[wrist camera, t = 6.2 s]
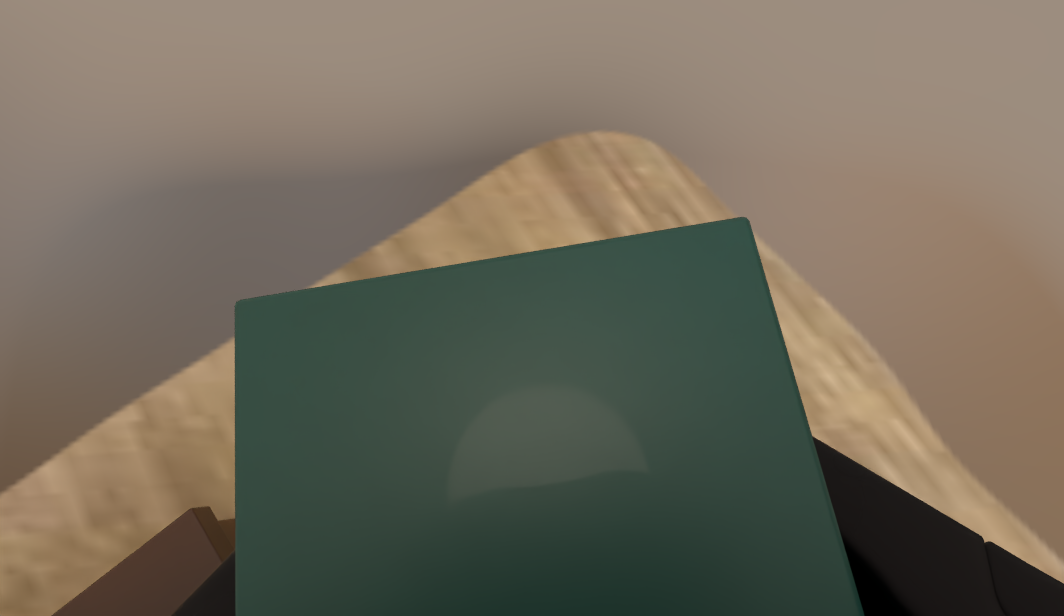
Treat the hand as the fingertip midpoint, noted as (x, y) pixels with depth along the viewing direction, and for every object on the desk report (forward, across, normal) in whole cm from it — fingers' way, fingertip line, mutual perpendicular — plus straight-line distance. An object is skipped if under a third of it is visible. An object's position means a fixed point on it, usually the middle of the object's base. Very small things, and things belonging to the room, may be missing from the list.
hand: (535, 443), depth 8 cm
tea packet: (+4, 0, +6) cm, 7 cm away
